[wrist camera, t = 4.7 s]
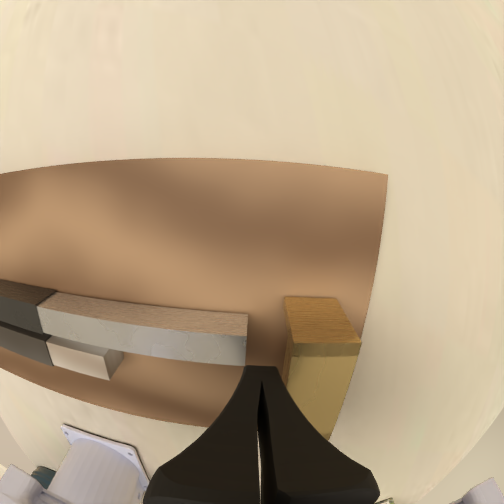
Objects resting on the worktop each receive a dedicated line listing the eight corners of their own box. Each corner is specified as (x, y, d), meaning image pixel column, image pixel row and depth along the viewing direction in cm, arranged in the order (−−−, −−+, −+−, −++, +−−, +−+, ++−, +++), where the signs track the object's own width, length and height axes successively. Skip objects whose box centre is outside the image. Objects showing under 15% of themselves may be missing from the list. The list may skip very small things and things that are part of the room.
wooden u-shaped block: (316, 389, 15) (328, 440, 11) (273, 389, 15) (276, 442, 11) (336, 298, 13) (361, 342, 9) (284, 296, 13) (293, 342, 9)
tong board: (328, 417, 17) (338, 458, 14) (5, 360, 17) (-17, 381, 14) (377, 174, 13) (415, 176, 9) (-30, 181, 13) (-64, 187, 9)
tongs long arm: (246, 342, 14) (244, 368, 12) (4, 302, 14) (-14, 315, 12) (248, 311, 14) (246, 334, 11) (-2, 278, 14) (-21, 289, 12)
